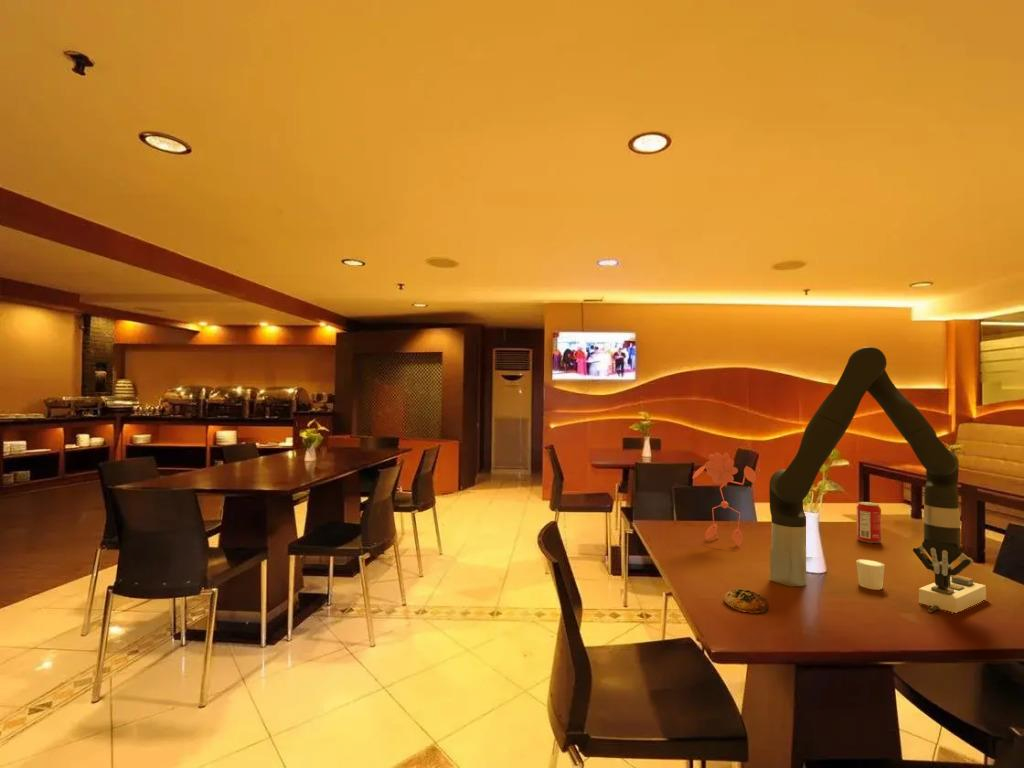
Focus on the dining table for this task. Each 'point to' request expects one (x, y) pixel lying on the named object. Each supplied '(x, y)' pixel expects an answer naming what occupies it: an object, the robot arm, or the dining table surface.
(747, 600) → the bread roll
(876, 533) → the soda can
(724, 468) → the pink stick figure
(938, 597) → the power strip
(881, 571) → the white soft cylinder
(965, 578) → the switch
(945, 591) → the switch
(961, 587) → the switch middle
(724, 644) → the dining table surface
